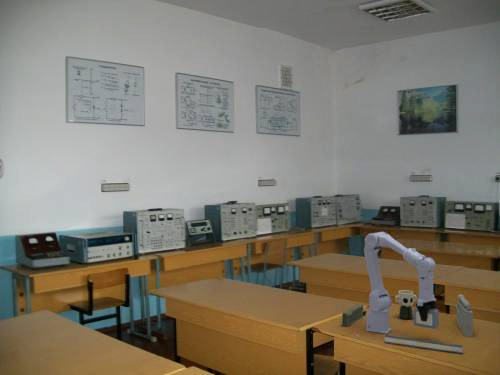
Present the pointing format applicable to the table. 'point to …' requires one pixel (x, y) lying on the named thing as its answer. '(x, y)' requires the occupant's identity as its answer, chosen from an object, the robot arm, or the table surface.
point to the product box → (431, 319)
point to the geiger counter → (464, 316)
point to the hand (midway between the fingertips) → (426, 319)
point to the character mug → (405, 303)
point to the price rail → (424, 344)
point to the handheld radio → (352, 315)
